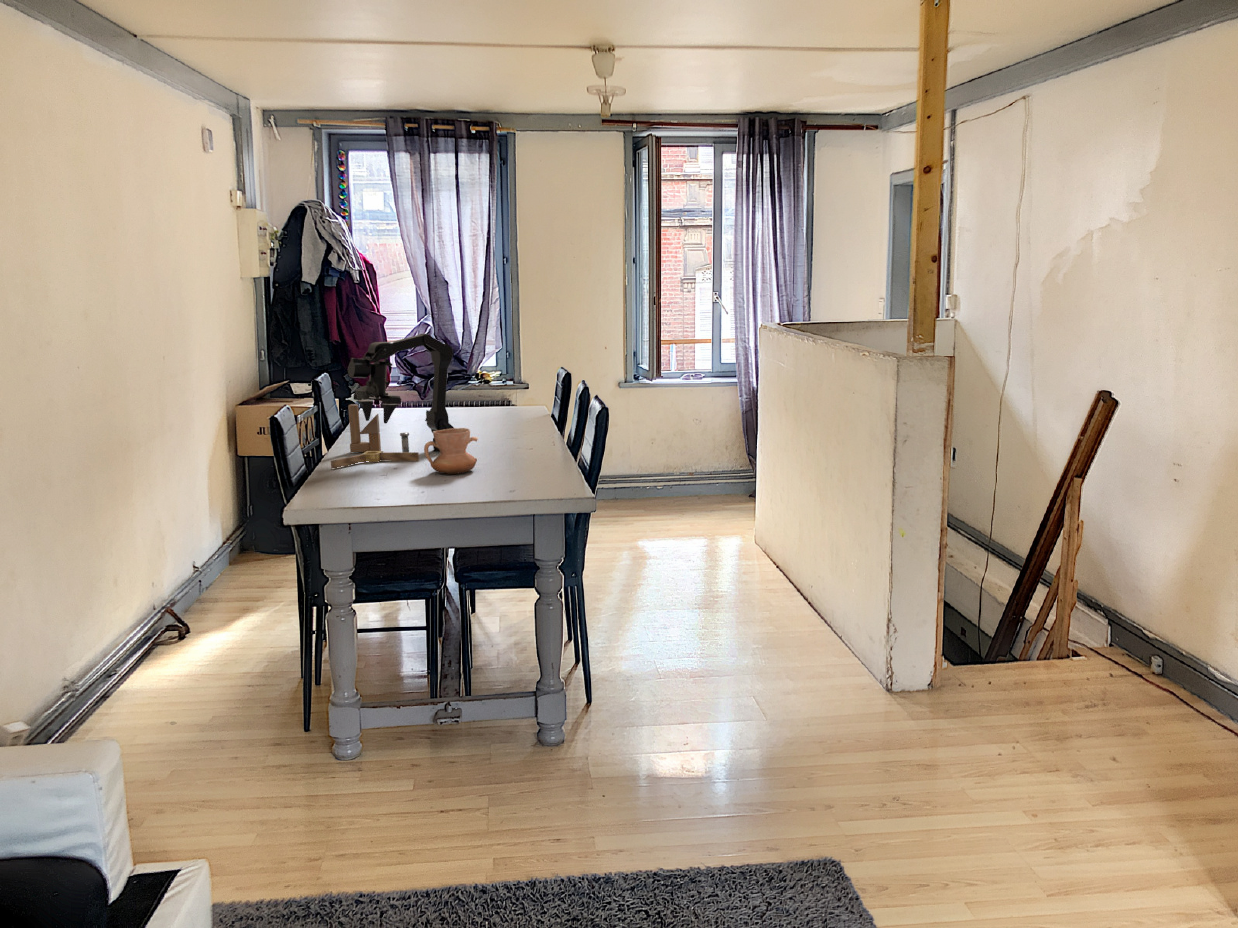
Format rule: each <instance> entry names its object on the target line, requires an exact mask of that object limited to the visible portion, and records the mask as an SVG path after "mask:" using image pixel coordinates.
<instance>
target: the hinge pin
mask: <svg viewBox="0 0 1238 928" xmlns="http://www.w3.org/2000/svg"><path fill="white" fill-rule="evenodd" d="M399 436H400V438H401V439H400V440H401V450H402V452H410V446H409V445H410V443H409V436H410V432H400V433H399Z"/></svg>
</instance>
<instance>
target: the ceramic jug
mask: <svg viewBox="0 0 1238 928" xmlns="http://www.w3.org/2000/svg"><path fill="white" fill-rule="evenodd" d="M432 435H433V438H434V439H435V442H434V441H433V440H432V441H431V440H430V441H428V442H426V443H425V445H424V447H423V448H424V449H423V453H424V455H425V458H426V459H427V460H428V461H429V464H430V467H431V468H432V469H433V470H434V471H435V472H438V473H440V474H444V475H445V474H446V475H459V473H460V474H464V472H465V473H467V472H469V471H471V470H473V469H474V468H475V466H476V463H477V462H478V458H477V457H474V456H473V455H472V454H470V453H468V452H467V451H466V450H467V447H468V445H469V444H470V443H471V442H478V440H479V438H478V437H477V436H471V430H470V428H467V427H454V428H451V429H446V430H445V429H444V430H438V431H433V433H432ZM431 446H432V447H433V446H435V447H437V448H438V449H439V450H440V451H439V452H440V453H439V455H438V456H437V457H435V458H434V459H432V457H431V455H430V453H429V448H430V447H431Z"/></svg>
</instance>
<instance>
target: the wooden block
mask: <svg viewBox="0 0 1238 928" xmlns="http://www.w3.org/2000/svg"><path fill="white" fill-rule="evenodd" d="M347 407H348V418H349V419H348V420H349V421H348V422H349V433H350V443H349V450H350V453H351V452H366V451H382V446H381V433H380V431H381V430H380V419H379V418H380V417H379V413H377V414H376V415H375V416H374V417H373V418H371V420H369V422H368V423H367V425H365V427H364V428H363V429H362V430H361V426H360V425H361V424H360V413H359V411H360V410H359V404H354V403H351V404H348V406H347ZM361 435H368V442H367V441H361V440H362V439H361Z"/></svg>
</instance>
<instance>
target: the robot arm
mask: <svg viewBox="0 0 1238 928" xmlns="http://www.w3.org/2000/svg"><path fill="white" fill-rule="evenodd" d="M419 347H424V348H425V350H426V351H428V352H429V353H430V357H431V361H432V362H431V363H432V365H433V367H434V371H433V372H434V373H433V385H432V386H433V387H432V402H431V403H432V404H431V407H430V409H429V410H427V409H426V411H425V415H426V416H425V419H424V421H425V422H426V426H427V427H428V428H429V429H430V431H431V433H432V434H433V431H438V430H444V429H445V430H446V429H451V428H455V427H454V426H453V425H452V424H451V423H450V422H449V421H450V420H449V414H448V411H447V408H446V402H447V401H446V400H447V399H446V398H447V397H446V396H447V383H448V382H447V381H448V369H449V367H450V365H451V363H452V360H453V356H454V349H453V347H452V346H451V345H450V344H447V343H443V342H442V341H440V340H438V338H437V339H436V338H435V337H433V336H432V335H430V334H429V333H419V334H417V335H413V336H410V337H405V338H402V339H397V340H394V341H378V342H377V341H375V342H372V343H370V344H369V345H368V348H367V351H366V352H365V353H364V355H363V357H361V358H355V357H350V362H349V364H348V366H347V374H348V376H349V378H353V379H354V378H358V379H367V378H368V377H369V380H366V383H365V385H362V386H361V387H359V388H356V389H355V392H354V393H353V400H354V401H355V402H356V403H358V405H360V407H361V408H362V413H363V415H364V418H365V422H368V421H369V422H370V418H371V415H372V410H373V405H374V401H378V402H382V403H381V404H380V406H381V407H382V409H383V424H387V423H388V422H389V420H390V419H391V416H392V415H393V413H394V411H395V409H396V408H397V407H398V406H399V405H401V404H402V398H401V396H400V395H395V394H389V393H388V392H387V391H386V390H387V385H389V381H387V367H392V366H393V363H392V362H391V361H390V360H389V359H388V358H391V357H392V356H394V355H395V354H396V353H398V352H403V351H406V350H411V349H414V348H415V349H416V348H419ZM432 441H434V442H435V439H434V437H432ZM432 447H433V448H432V449H433V450H432V451H433V452H440V450H439V449H438V448H437V447H435V446H432Z"/></svg>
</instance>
